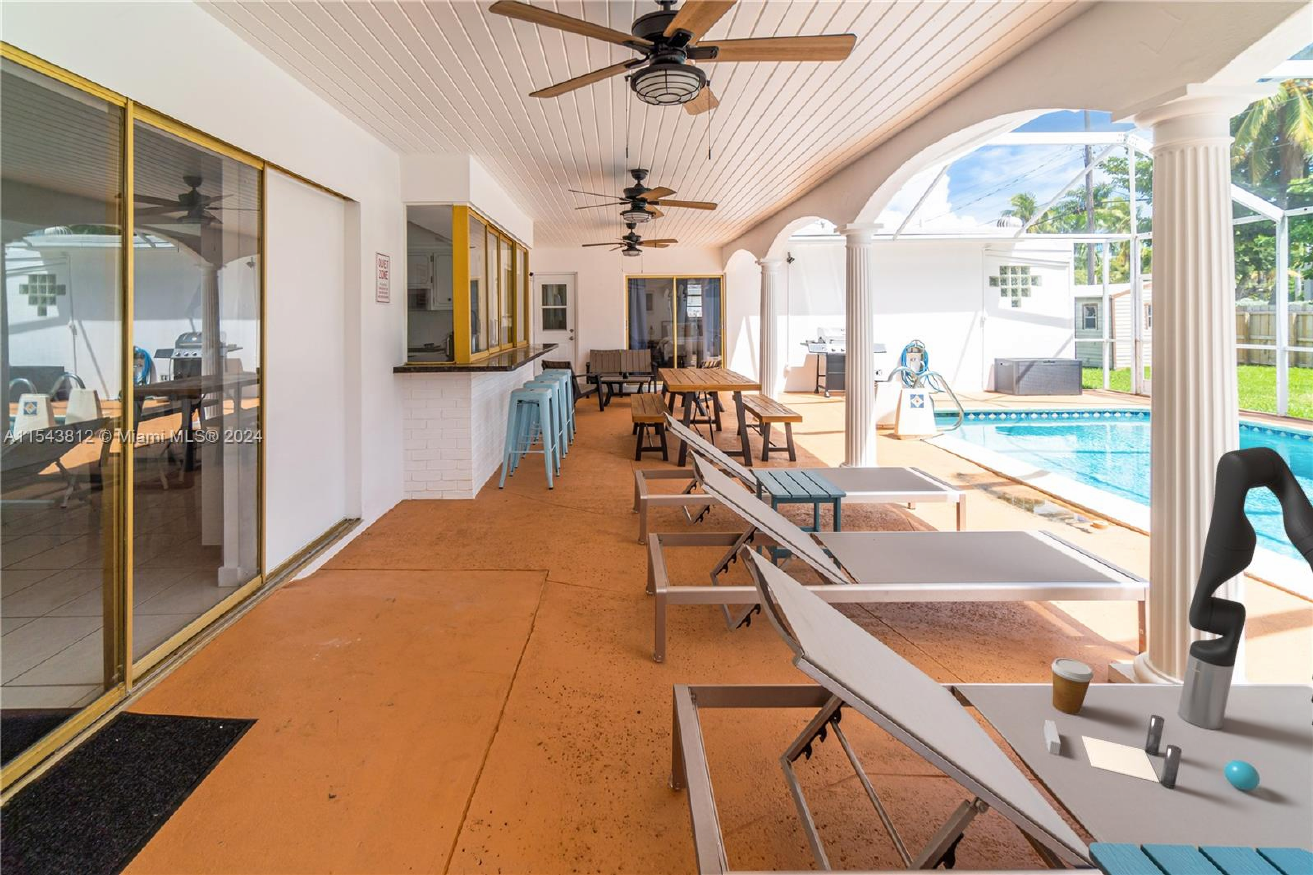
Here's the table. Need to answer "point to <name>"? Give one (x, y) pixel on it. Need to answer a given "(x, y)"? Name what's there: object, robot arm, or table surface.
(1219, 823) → the table surface
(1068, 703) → the disposable coffee cup
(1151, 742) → the post
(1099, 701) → the table surface
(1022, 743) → the table surface
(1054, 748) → the wall
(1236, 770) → the ball
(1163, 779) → the post
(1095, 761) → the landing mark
